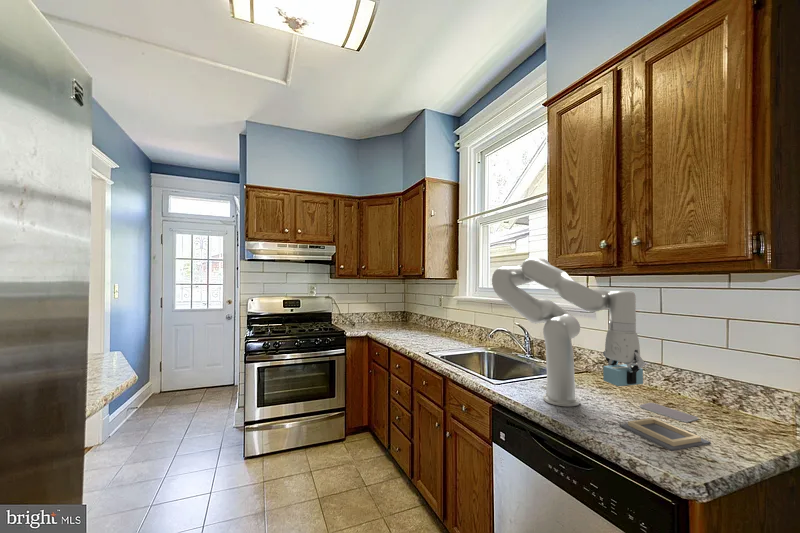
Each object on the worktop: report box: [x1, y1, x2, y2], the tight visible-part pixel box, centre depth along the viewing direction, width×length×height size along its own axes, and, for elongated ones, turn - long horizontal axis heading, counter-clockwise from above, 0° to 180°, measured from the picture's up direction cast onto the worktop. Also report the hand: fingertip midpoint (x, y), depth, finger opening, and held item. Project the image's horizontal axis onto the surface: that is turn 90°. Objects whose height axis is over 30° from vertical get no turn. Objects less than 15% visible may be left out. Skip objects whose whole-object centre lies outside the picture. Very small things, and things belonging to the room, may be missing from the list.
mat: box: [619, 417, 712, 452], centre depth 102 cm, size 16×14×2 cm
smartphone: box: [639, 402, 699, 424], centre depth 118 cm, size 7×1×15 cm
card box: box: [603, 363, 644, 387], centre depth 117 cm, size 10×6×5 cm, turn 104°
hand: (622, 380), depth 117 cm, fingers closed on card box, 6 cm apart
